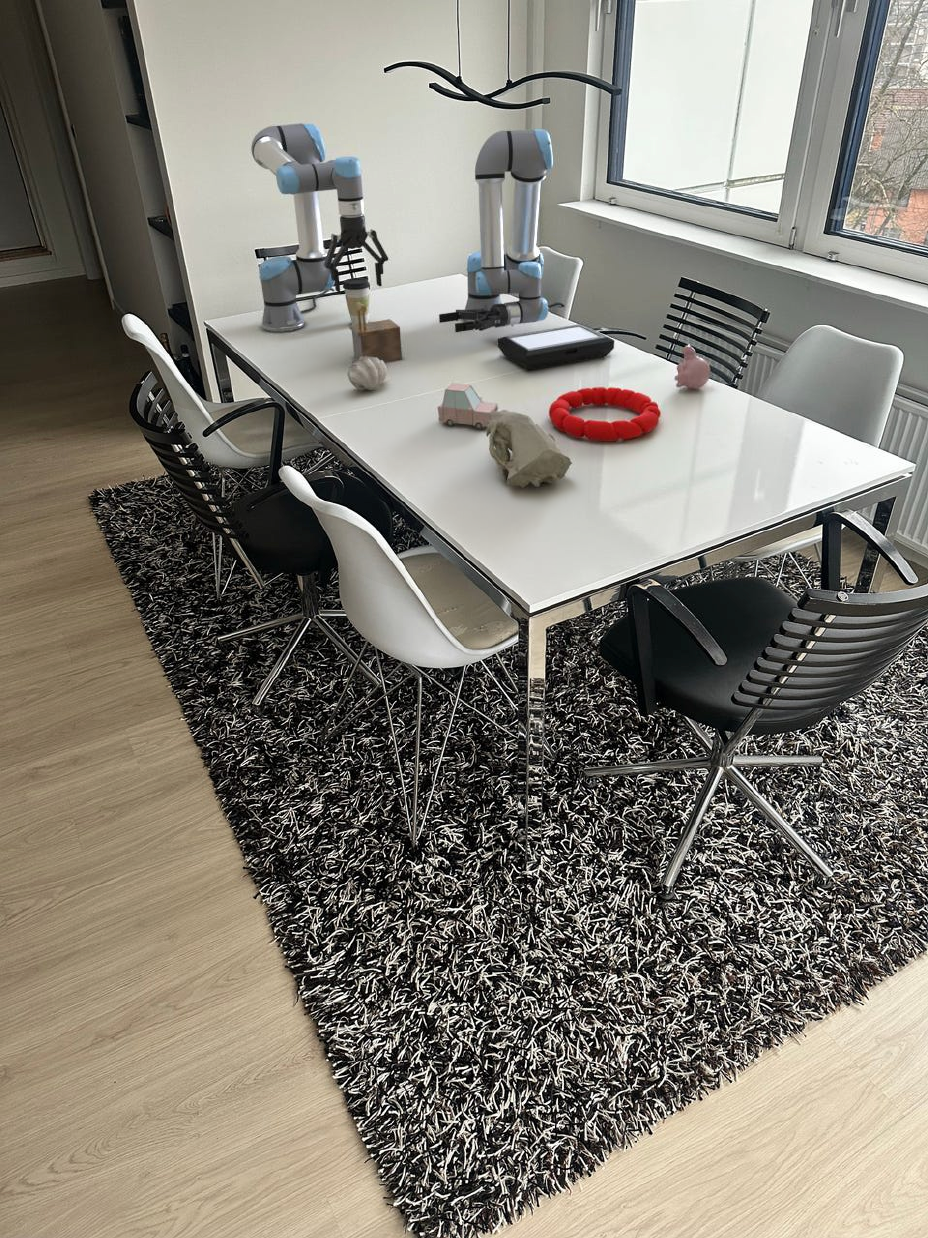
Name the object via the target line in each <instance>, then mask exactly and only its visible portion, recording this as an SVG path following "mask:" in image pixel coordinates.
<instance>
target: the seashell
mask: <svg viewBox="0 0 928 1238" xmlns="http://www.w3.org/2000/svg"><path fill="white" fill-rule="evenodd" d="M387 375H388V371H387V366H386V362H384V361H383V360H379V359H378V358H377V357H376V358H374V357H368V356H365V357H363V356H361V357H360V359H356V358H354V359H351V361H350V363H349V365H348V368H347V378H348V381H349V383H350V384H351V385H352V386H353V387H354V388H355V389H357V390H361V391H364V390H371V391H372V390H376V389H379V387H380V386H381V385H382V384H383V383H384V381H385V380H386V378H387Z"/></svg>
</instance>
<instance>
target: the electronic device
mask: <svg viewBox="0 0 928 1238" xmlns="http://www.w3.org/2000/svg"><path fill="white" fill-rule="evenodd" d="M497 348H498V349H499V351H500V352H501V353H502V355H503V356H504V357H506V359H509V360H510V361H511V362H514V363H516V364H517V365H519V366H520V367H522V368H524V369H525V370H526V371H532V370H538V369H542V368H543V369H544V368H548V367H554V366H555V367H556V366H560V365H567V364H572V363H578V362H582V361H587V360H594V359H600V358H604V357H608V355H609V354H610V353H611V352H612V351H613V350H614V349H615V340H614V339H612V338H611V337H609V336H607V335H605V334H603V333H601V332H599V331H596V330H595V329H593V328H591V327H589V326H587V325H585V324H583V323H578V324H573V325H566V326H561V327H554V328H549V329H542V330H536V331H531V332H525V333H518V334H514V335H508V336H507V335H506V336H503V337H498V338H497Z"/></svg>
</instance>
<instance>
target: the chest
mask: <svg viewBox="0 0 928 1238" xmlns="http://www.w3.org/2000/svg"><path fill="white" fill-rule="evenodd" d="M351 337H352V338H351V339H352V348H353V357H354V359H360V357H361V356H363V357H365V356H368V357H374V358H376V357H377V358H378V359H379V360H383V361H384V363H389V362H390V363H391V362H395V361H401V360H403V353H402V352H403V351H402V336H401V329H400V330H397V331H391V332H385V333H379V334H372V335H366V336H360V337H359V336H357V335H356V334H355V333H354V332H353V331H352V330H351Z"/></svg>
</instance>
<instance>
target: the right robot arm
mask: <svg viewBox="0 0 928 1238" xmlns="http://www.w3.org/2000/svg"><path fill="white" fill-rule="evenodd" d="M553 161H554V160H553V148H552V141H551V136H550V134H549V132H548V131H547V130H546V129H536V128H533V129H516V130H499V131H497V132H495V133H493V134H492V135H490V136H489V137H488V138H487V139H486V141H484V143H483V145H482V147H481V148H480V150H479V153H478V155H477V157H476V163H475V168H474V181H475V182H476V183H477V184H478V208H479V210H478V211H479V235H480V236H479V238H480V239H479V240H480V250H479V251H476V252H474V253H471V254H470V255H468V257H467V261H466V262H467V263H466V272H467V300H466V304H465V307H464V309H455V311H452V312H445V313H439V314H438V321H439V324H442V323H450V322H455V321H456V323H454V333H462V332H468V331H479V332H482V331H485V330H488V329H491V328H493V327H494V328H503V327H506V326H507V327H508V326H510V327H511V328H512V327H514V325H523V324H528V323H529V324H530V323H537V322H541V321H544V320H545V319H546V318H547V317H548V314H549V309H550V308H554V307H556V306H561V307H564V308H565V307H566V305H565V304H564V303H562V302H558V301H557V302H554V303H552V304H548V301H547V300H546V299H545V298H544V297H542V295H541V293H542V277H543V273H544V256H543V253H542V252H540V249H539V247H538V246H537V236H538V235H537V233H538V223H539V222H538V221H539V209H540V197H541V196H540V195H541V185H542V181H543V180H545V179H546V177H547V171H550V170H552V169H553V165H554V164H553V163H554V162H553ZM508 172H509V173H510V177H511V178H512V179H513V181H514V188H513V189H514V190H513V192H514V193H513V206H512V207H513V208H512V224H511V241H510V242H511V243H510V244H509V245H508V246H507V247H506V253H504V217H503V183H504V181H505V180H506V173H508ZM511 294H518V300H517V301H515V300H514V301H508V302H507V301H506V302H504V303H502V300H501V295H511ZM459 320H463V321H464V322H459Z"/></svg>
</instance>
